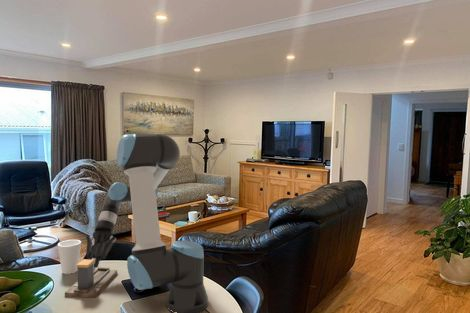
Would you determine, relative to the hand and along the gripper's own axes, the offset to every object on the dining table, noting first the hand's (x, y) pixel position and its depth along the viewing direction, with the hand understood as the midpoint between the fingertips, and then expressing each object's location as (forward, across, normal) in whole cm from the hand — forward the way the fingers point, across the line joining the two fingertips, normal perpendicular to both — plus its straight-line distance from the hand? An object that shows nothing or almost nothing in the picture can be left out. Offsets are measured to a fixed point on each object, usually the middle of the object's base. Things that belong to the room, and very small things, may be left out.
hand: (90, 274), depth 140 cm
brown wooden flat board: (+2, 0, -5) cm, 6 cm away
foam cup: (-6, +16, -14) cm, 22 cm away
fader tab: (+5, 0, 0) cm, 5 cm away
